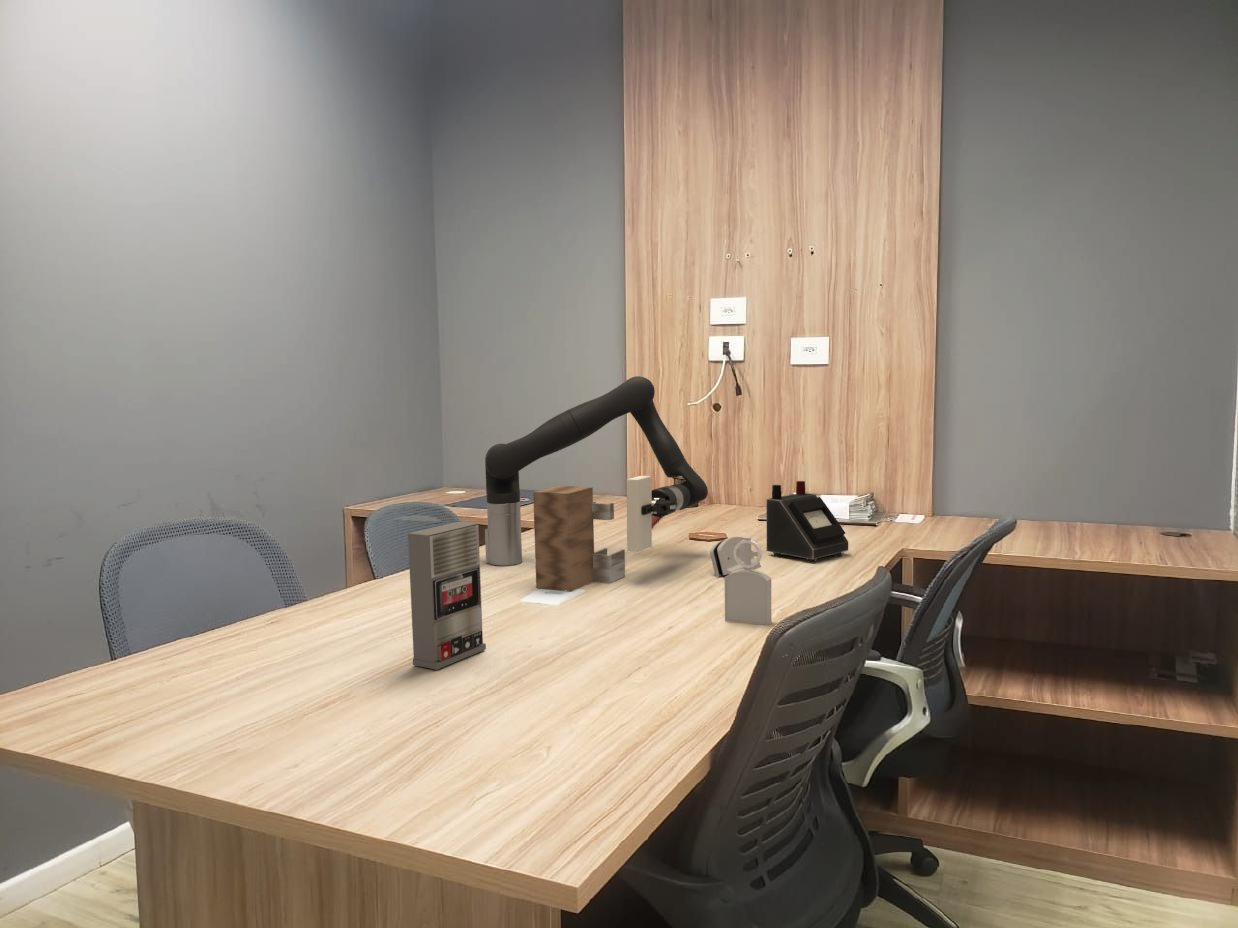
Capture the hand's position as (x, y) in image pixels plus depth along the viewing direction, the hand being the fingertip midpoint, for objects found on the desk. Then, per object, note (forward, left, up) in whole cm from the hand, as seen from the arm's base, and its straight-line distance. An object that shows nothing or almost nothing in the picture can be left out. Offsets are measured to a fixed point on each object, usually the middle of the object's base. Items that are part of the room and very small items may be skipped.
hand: (636, 510), depth 233 cm
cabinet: (-13, -5, -18) cm, 23 cm away
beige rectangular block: (0, +2, -10) cm, 10 cm away
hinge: (+18, +21, -19) cm, 34 cm away
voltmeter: (+30, +47, -19) cm, 59 cm away
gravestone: (+37, -23, -19) cm, 47 cm away
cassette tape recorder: (-6, -69, -19) cm, 71 cm away
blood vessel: (-36, +86, -19) cm, 96 cm away
